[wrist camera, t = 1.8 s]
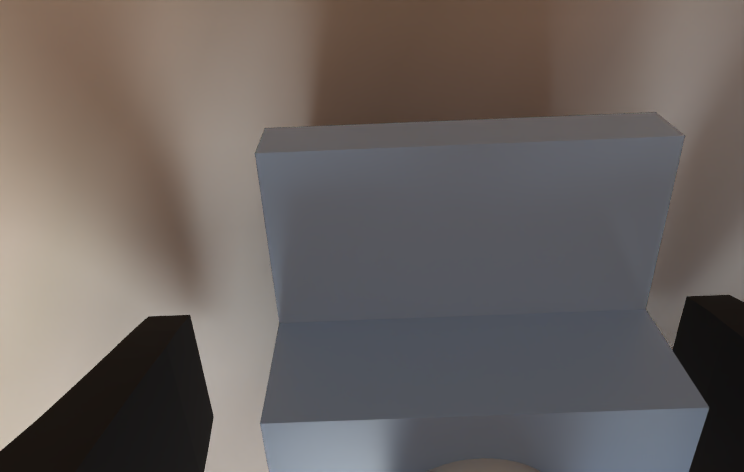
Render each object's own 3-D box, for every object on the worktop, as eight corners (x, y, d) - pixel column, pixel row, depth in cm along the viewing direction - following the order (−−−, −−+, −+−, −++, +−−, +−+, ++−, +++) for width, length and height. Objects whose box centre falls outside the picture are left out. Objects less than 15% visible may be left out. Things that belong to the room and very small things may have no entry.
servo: (514, 467, 13) (611, 853, 8) (338, 473, 13) (322, 861, 8) (562, 35, 8) (858, 276, 3) (296, 47, 8) (196, 301, 3)
